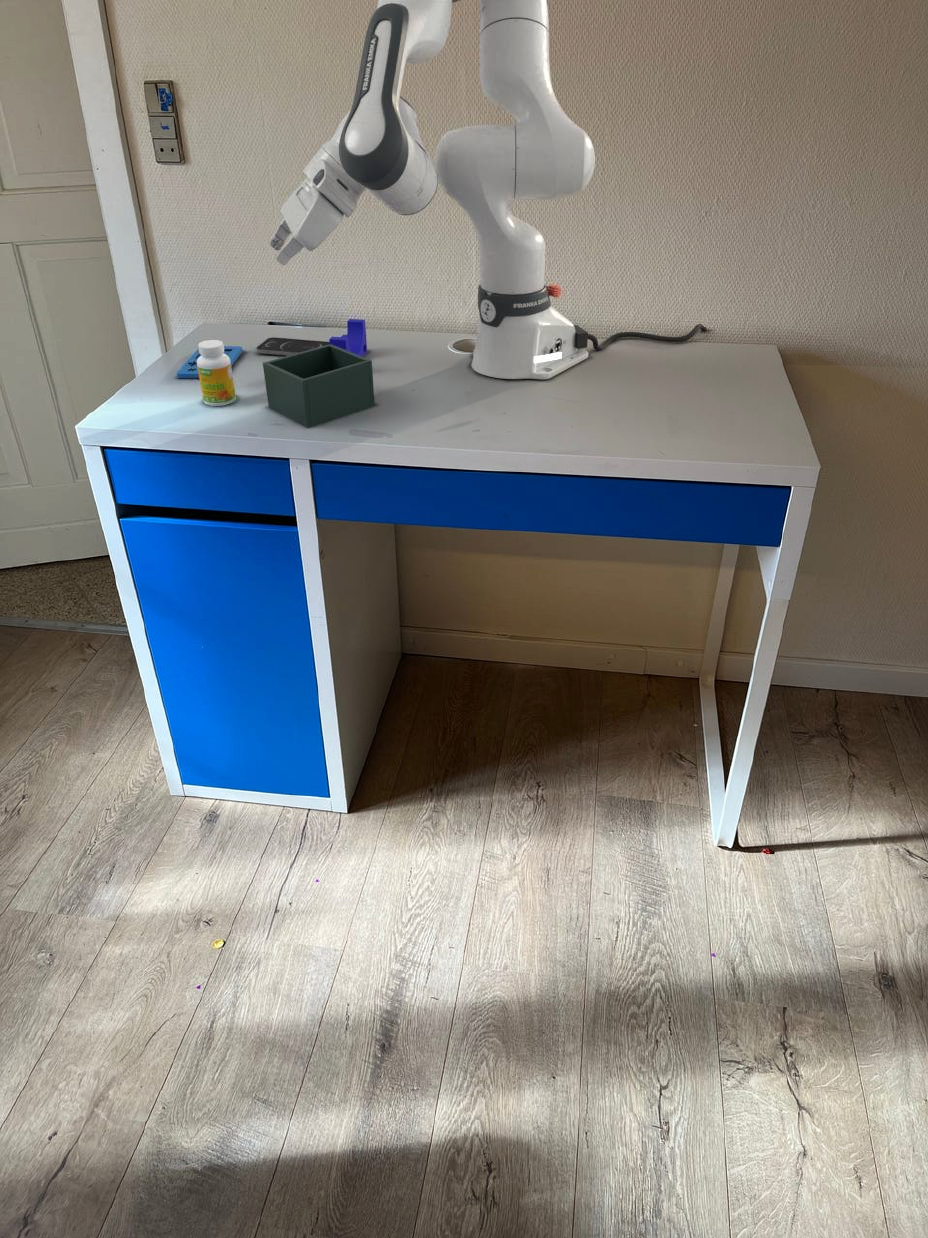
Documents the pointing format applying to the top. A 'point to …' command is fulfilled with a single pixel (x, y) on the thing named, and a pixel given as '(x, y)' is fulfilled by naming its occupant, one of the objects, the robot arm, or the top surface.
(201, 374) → the supplement bottle
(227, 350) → the handheld gaming device
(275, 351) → the smartphone
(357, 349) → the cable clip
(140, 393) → the top surface
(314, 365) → the bin
